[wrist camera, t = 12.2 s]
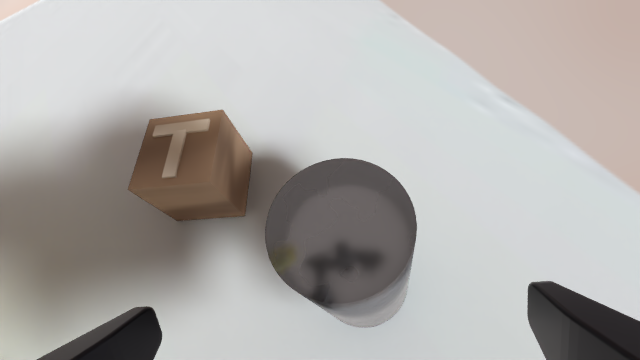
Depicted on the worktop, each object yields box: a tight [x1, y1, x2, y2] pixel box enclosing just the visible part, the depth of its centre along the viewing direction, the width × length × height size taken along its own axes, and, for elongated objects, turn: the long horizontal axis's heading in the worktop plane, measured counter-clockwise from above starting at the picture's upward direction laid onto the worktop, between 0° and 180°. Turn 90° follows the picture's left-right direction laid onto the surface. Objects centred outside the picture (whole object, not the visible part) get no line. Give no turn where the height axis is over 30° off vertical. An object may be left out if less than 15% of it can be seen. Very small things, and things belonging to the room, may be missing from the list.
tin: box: [265, 158, 417, 328], centre depth 15 cm, size 5×5×9 cm
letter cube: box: [128, 110, 252, 221], centre depth 22 cm, size 5×5×5 cm
